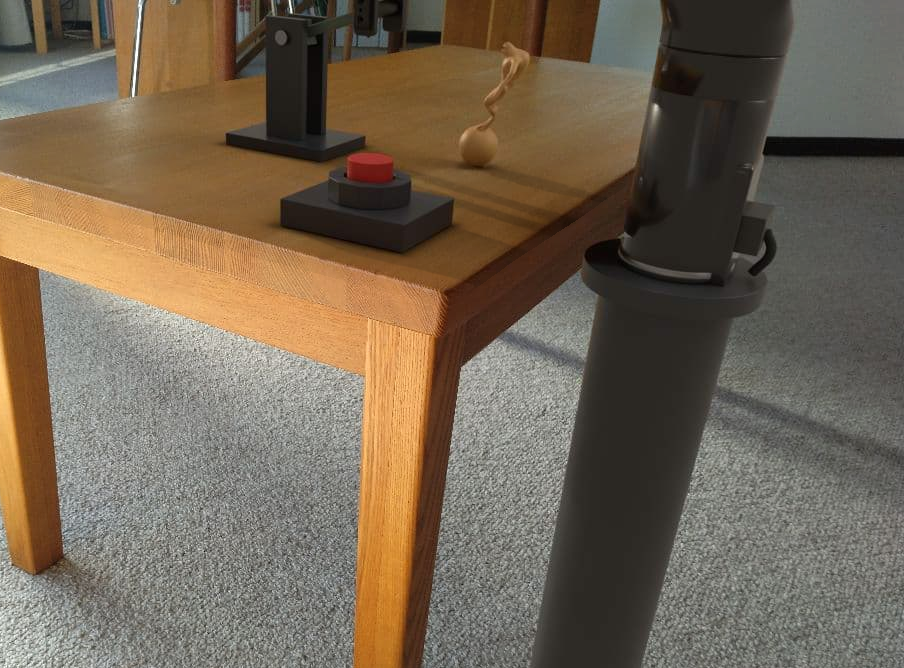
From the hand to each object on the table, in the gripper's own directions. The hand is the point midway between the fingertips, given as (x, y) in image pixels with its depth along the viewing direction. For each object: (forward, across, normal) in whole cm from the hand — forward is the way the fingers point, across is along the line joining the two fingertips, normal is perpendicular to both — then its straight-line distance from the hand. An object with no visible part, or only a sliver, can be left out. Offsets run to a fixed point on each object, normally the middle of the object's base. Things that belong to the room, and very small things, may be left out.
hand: (379, 32), depth 86 cm
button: (+9, -20, -10) cm, 24 cm away
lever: (+1, 0, +5) cm, 5 cm away
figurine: (+13, +5, -10) cm, 17 cm away
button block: (+12, -20, -10) cm, 26 cm away
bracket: (+12, 0, +10) cm, 15 cm away
